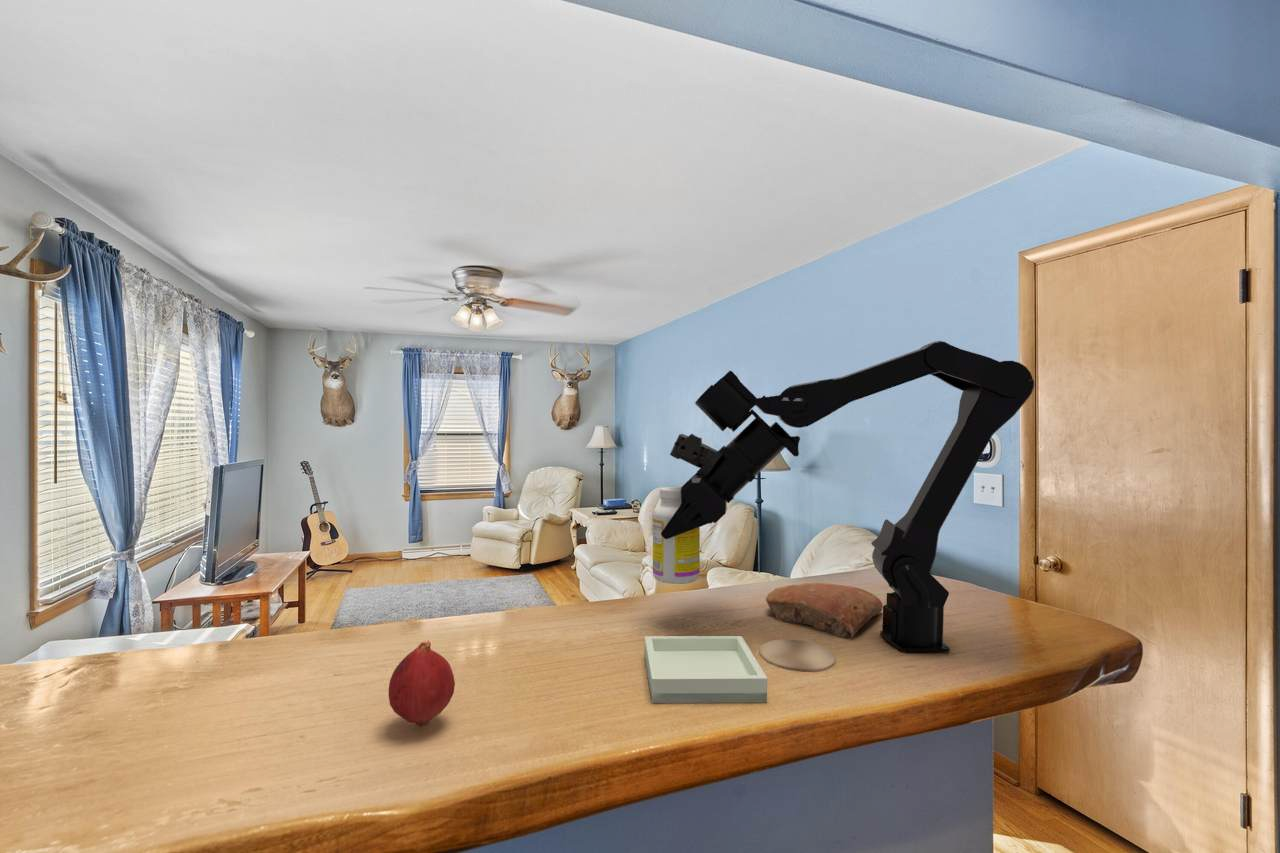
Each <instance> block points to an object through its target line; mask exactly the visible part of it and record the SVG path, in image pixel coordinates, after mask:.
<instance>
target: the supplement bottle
mask: <svg viewBox="0 0 1280 853" xmlns="http://www.w3.org/2000/svg"><path fill="white" fill-rule="evenodd" d="M681 487H682V486H667V487H660V488H659V497H660V500H661V501H660V505H658V506H655V508H654V510H653V512H652V576H653V578H654V579H655V581H658V582H661V583H663V584H673V585H684V584H685V585H686V584H691V583H694V582H696V581H697V580H699V578H700V574H701V573H700V572H701V571H700V570H701V569H700V567H701V566H700V564H701V562H700V560H701V558H700V556H701V555H700V554H701V553H700V551H701V550H700V549H701V547H700V546H701V544H700V541H701V540H700V539H701V538H700V530H701V527H698V528H695V529H693V530H690V531H687V532H684V533H682V534H679V535H677V536H674V537H671V538H669V539H664V537H663V536H662V535H661V532H662V531H663V529H664V528H665V527H666V525H667V524H668V522H669V521H670V519H671V518H672V517H673V515H674V514H675V512H676V511H677V509H678V508H679V507H680V505H681V492H680V491H681Z"/></svg>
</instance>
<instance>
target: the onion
mask: <svg viewBox="0 0 1280 853" xmlns="http://www.w3.org/2000/svg"><path fill="white" fill-rule="evenodd" d="M455 685H456V682H455V676H454V673H453V669H452V667H451V664H450V663H449V662H448V660H447V659H446V658H445V657H444V656H442V655H441V654H440V653H438V652H437V651H435V650H433V649H431V642H430V640H423V641H421V642H420V643H419V644H418V645H417V646H416V647H415V649H413V650H412V651H411V652H409V653H408V654H407V655H406V656H404V658H403V659H402V660H401V661H400V662H399V663H398V665H397V666H396V667H395V669H394V670H393V672H392V675H391V677H390V678H389V683H388V699H389V700H388V701H389V706H390V708H392V711H393V712H394V714H396V715H397V716H399V718H402V719H403V720H405V721H406V722H409V723H412V724H414V725H416V726H418V727H425V726H427V725H428V724H430V722H431V721H432V720H434V719H435V718H436V717H437V716H439V715H440V714H441V713H442V712H443V711H444V709H446V708H447V706H448V705H449V704H450V702H451V700H452V698H453V695H454V693H455Z"/></svg>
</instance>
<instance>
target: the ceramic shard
mask: <svg viewBox="0 0 1280 853" xmlns="http://www.w3.org/2000/svg"><path fill="white" fill-rule="evenodd" d="M765 602H766V604H767V605H768V607H769V609H770V611H771V612H773V615H775V618H776V620H778V621H781V622H788V623H789V622H790V623H796V624H803V625H809V626H812V627H814V628H815V629H817V630H820V631H824V632H826V633H827V632H828V633H830V634H832V635H836V637H837V636H838V637H840V638H843V639H849V640H851V639H852V638H853V637H854V636H856V634H857V633H858V631H860V629H861V628H862V627H863V626H864V625H865V624H866V623H868V621H870V620H871V618H873V617H875V616H877V615H880V614H881V612H883V606H884V605H883V603H882V600H881V599H880V598H879V597H877V596H876V594H873V593H872V592H869V591H867V590H865V589H862V588H860V587H859V588H858V587H856V586H850V585H849V586H848V585H841V584H835V583H834V584H832V583H821V582H813V583H809V582H806V583H801V584H792V585H785V586H781V587H777V588H775V589H773V590H771V591H770V592H769V593H768V594H767V596H766V597H765Z"/></svg>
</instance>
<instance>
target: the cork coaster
mask: <svg viewBox="0 0 1280 853" xmlns="http://www.w3.org/2000/svg"><path fill="white" fill-rule="evenodd" d="M759 654H760V657H761V658H762V659H763V660H764V661H766V662H767V663H769V664H771V665H773V666H775V667H778V668H782V669H785V670H789V671H790V670H791V671H796V672H819V671H824V670H828V669H830V668H832V667H833V666H834V664H836V656H835V654H834V652H832V651H831V650H830V649H828V648H826V647H824V646H822V645H820V644H818V643H815V642H810V641H806V640H802V639H801V640H800V639H790V638H789V639H787V638H786V639H775V640H770V641H768V642H767V641H766V642H765V643H763V644H762V645H761V646H760V649H759Z"/></svg>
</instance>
